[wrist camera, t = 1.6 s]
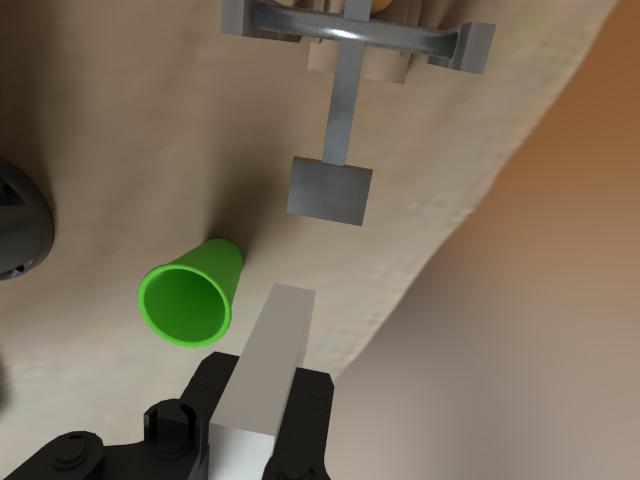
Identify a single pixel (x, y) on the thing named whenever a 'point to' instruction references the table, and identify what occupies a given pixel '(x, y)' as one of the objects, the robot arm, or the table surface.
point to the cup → (192, 294)
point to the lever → (344, 98)
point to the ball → (379, 5)
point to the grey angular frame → (376, 61)
